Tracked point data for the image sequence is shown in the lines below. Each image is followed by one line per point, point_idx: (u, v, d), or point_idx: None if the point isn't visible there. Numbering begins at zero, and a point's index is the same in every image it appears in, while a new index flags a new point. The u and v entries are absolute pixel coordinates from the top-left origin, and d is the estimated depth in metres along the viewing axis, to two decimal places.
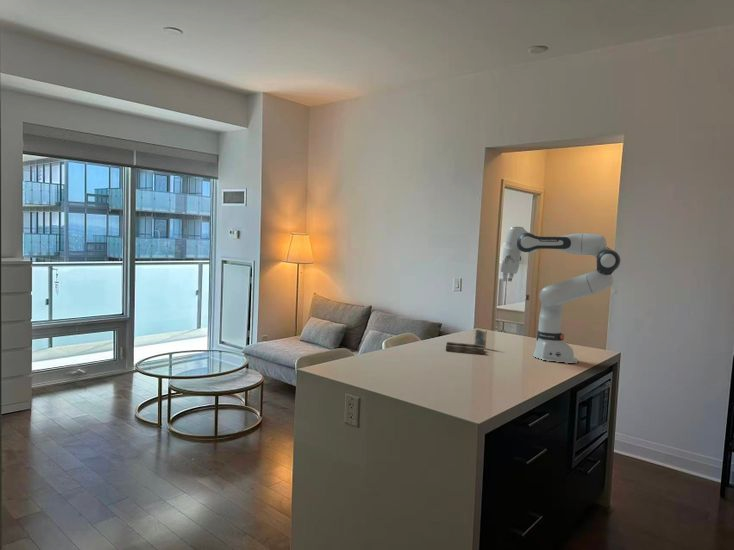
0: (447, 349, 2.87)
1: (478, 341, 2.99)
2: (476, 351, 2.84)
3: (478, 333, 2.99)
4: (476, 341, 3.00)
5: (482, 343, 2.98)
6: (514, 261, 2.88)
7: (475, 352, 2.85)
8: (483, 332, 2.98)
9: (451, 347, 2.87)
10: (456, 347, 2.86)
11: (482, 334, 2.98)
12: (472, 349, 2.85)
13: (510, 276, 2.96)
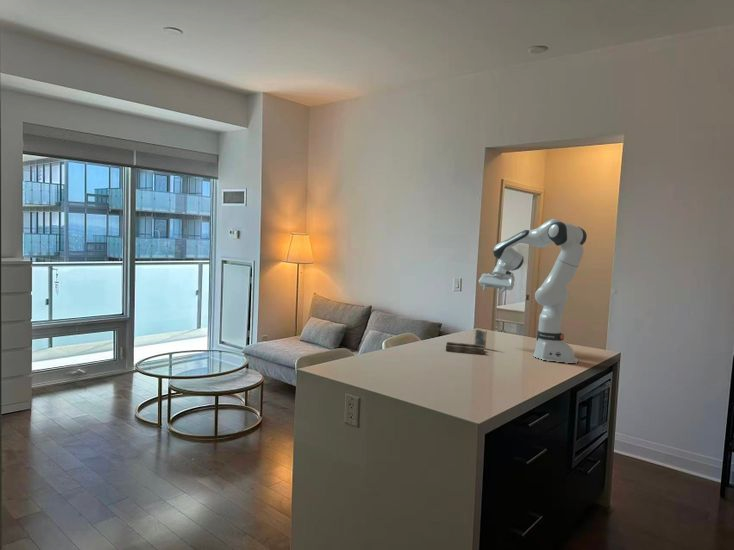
0: (447, 349, 2.87)
1: (478, 341, 2.99)
2: (476, 351, 2.84)
3: (478, 333, 2.99)
4: (476, 341, 3.00)
5: (482, 343, 2.98)
6: (494, 274, 3.13)
7: (475, 352, 2.85)
8: (483, 332, 2.98)
9: (451, 347, 2.87)
10: (456, 347, 2.86)
11: (482, 334, 2.98)
12: (472, 349, 2.85)
13: None
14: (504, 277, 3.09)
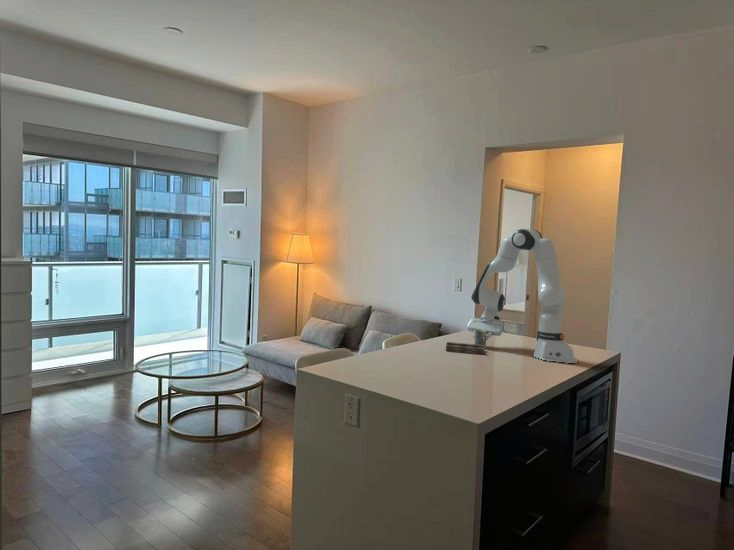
0: (447, 349, 2.87)
1: (478, 341, 2.99)
2: (476, 351, 2.84)
3: (478, 332, 2.99)
4: (476, 341, 3.00)
5: (482, 343, 2.98)
6: (483, 319, 3.05)
7: (475, 352, 2.85)
8: (483, 332, 2.98)
9: (451, 347, 2.87)
10: (456, 347, 2.86)
11: (482, 334, 2.98)
12: (472, 349, 2.85)
13: None
14: (492, 322, 3.01)
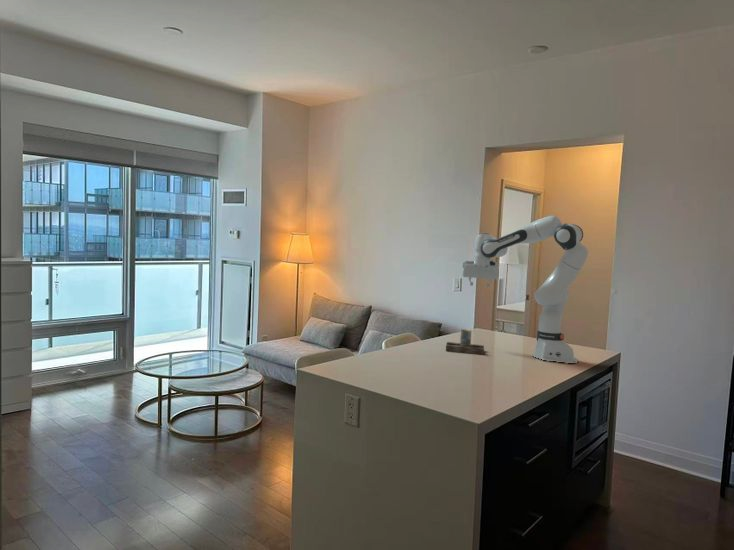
0: (447, 349, 2.87)
1: (464, 341, 2.89)
2: (476, 351, 2.84)
3: (464, 332, 2.89)
4: (462, 342, 2.89)
5: (468, 343, 2.89)
6: (478, 266, 3.02)
7: (475, 352, 2.85)
8: (469, 332, 2.88)
9: (451, 347, 2.87)
10: (456, 347, 2.86)
11: (468, 334, 2.88)
12: (472, 349, 2.85)
13: None
14: (489, 268, 3.01)
